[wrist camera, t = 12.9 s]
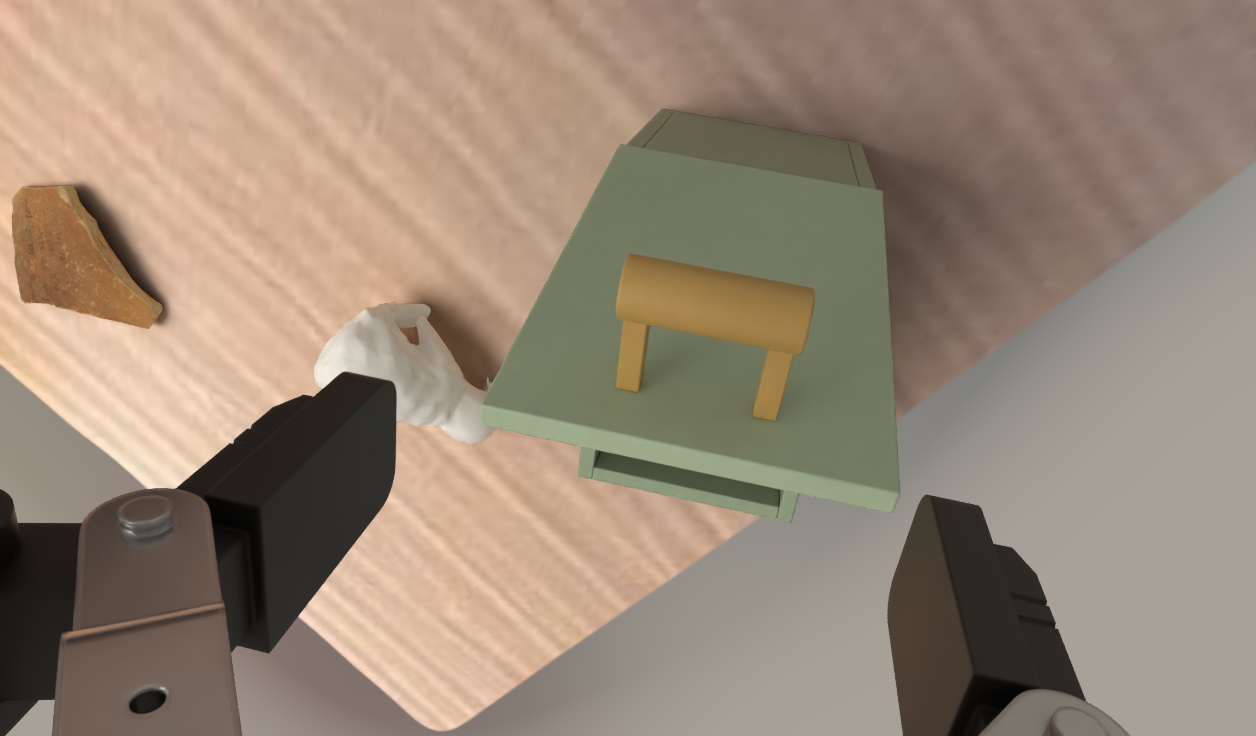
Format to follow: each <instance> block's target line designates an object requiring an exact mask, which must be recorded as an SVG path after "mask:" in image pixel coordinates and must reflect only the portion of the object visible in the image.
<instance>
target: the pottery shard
mask: <svg viewBox="0 0 1256 736" xmlns="http://www.w3.org/2000/svg"><path fill="white" fill-rule="evenodd" d="M12 205H13V214H12V237H13V243H14V247H15V268H16V273H17V280H18V284H19V291H20V295H21V300H22V302H24V303H42V304H44V303H45V304H50V305H55V306H56V307H59V308H62V309H68V310H73V311H76V312H78V313H82V314H88V315H92V316H95V317H98V318H103V319H108V320H113V321H117V322H122V323H125V324H130V325H134V326H138V327H142V328H147V329H149V328H150V327H151V325H152V324H153V323H154V322H155V320H156V319H157V318H158V316H159V315H160V313H161V312H162V310H163V307H162V304H161V303H159V302H157V301H156V300H154V299H153V298H151V297H150V296H149V295H147V294H146V293H145V292H144V291H143V290H141V289H140V288H139V286H137V284H136V283H135V282H134V281H133V280H132V279H131V277H130V276H129V274H128V273H127V271H126V270H125V268H124V266H123V265H122V264H121V262H120V260H119V259H118V258H117V257H116V255H115V254H114V252H113V251H112V250H111V248H110V247H109V245H108V244H107V242H106V240H105V239H104V237H103V235H102V233H101V231H100V230H99V228H98V224H97V221H96V220H95V219H94V218H93V217H92V216H91V215H90V214H89V213H88V212H87V211H86V210H85V208H84V207H83V205H82V204H81V203H80V201H79V198H78V194H77V191H76V190H75V188H74V187H73V186H72V185H64V186H63V185H61V186H56V187H46V188H43V187H41V188H33V187H22V188H21V189H20V190H19V191H18V192H17V193H16V194H15V195H14V197H13V200H12Z"/></svg>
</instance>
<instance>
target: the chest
mask: <svg viewBox="0 0 1256 736" xmlns="http://www.w3.org/2000/svg"><path fill="white" fill-rule="evenodd" d="M627 145H628V146H633V147H639V148H644V149H650V150H656V151H661V152H667V153H673V154H678V155H684V156H689V157H695V158H701V159H706V160H712V161H717V162H723V163H729V164H734V165H740V166H746V167H751V168H757V169H762V170H768V171H774V172H779V173H785V174H791V175H796V176H802V177H807V178H813V179H819V180H824V181H830V182H835V183H841V184H847V185H852V186H858V187H864V188H869V189H875V190H877V189H876V186H875V183H874V180H873V177H872V175H871V172H870V169H869V166H868V163H867V160H866V157H865V154H864V151H863V149H862V146H861V144H860V143H856V142H850V141H844V140H839V139H833V138H827V137H821V136H815V135H810V134H804V133H798V132H792V131H786V130H781V129H775V128H769V127H763V126H758V125H752V124H746V123H740V122H734V121H729V120H723V119H717V118H711V117H705V116H700V115H694V114H688V113H682V112H677V111H671V110H665V109H661V110H660V111H659V112H658V113H657V114H656V115H655V116H654V117H653V118H652V119H651V120H650V121H649V122H648V123H647V124H646V125H645V126H644V127H643V128H642V129H641V130H640V131H639V133H638V134H637V135H636V136H635V137H634V138H633V139H632V140H631V141H630V142H629V143H628V144H627ZM578 476H579V477H584V478H588V479H594V480H598V481H603V482H607V483H612V484H617V485H621V486H626V487H630V488H635V489H639V490H644V491H649V492H653V493H658V494H662V495H667V496H671V497H676V498H680V499H685V500H690V501H694V502H699V503H703V504H708V505H712V506H717V507H722V508H726V509H731V510H735V511H740V512H744V513H749V514H753V515H758V516H763V517H768V518H772V519H776V518H777V520H781V521H785V522H792V519H793V515H794V511H795V507H796V503H797V500H798V496H799V493H794V492H789V491H785V490H780V489H775V488H771V487H766V486H762V485H757V484H752V483H748V482H743V481H738V480H734V479H729V478H724V477H720V476H715V475H710V474H706V473H701V472H697V471H692V470H687V469H683V468H678V467H673V466H669V465H664V464H659V463H655V462H650V461H645V460H641V459H636V458H632V457H627V456H622V455H618V454H613V453H608V452H604V451H599V450H594V449H590V448H585V447H581V453H580V461H579V468H578Z"/></svg>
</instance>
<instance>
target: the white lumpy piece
mask: <svg viewBox="0 0 1256 736" xmlns="http://www.w3.org/2000/svg"><path fill="white" fill-rule="evenodd" d="M430 313H431V309H430V307H429V306H427V305H424V304H400V303H396V302H392V303H385V304H379V305H377V306H376V307H372V308H365V309H364V310H363V311H362V312H361V313H360V314H359V315H357V316H355V317H354V318H353V319H351V320H349V321H347V322H346V323H344V325H343V326H342V328H341V329H340V331H339V332H338V333H337V334H336V335H334V336H333V337H332V338H331V339H329V341H328V342H327V343H326V345H325V347H324V348H323V350H322V352H321V354H320V356H319V358H318V360H317V362H316V364H315V366H314V376H315V380H316V383H317V384H318V385H319V386H320V387H321V388H322V389H323V388H324V387H325V386H326V385H328V384H329V383H330V382H331V381H332V380H333V379H334V378H335V377H337V376H338V375H339V374H340V373H342V372H344V371H347V372H352V373H357V374H361V375H366V376H371V377H376V378H380V379H385V380H390V381H392V382H393V383H394V385H395V387H396V393H397V412H396V422H406V423H410V424H412V425H414V426H424V425H434V426H440V427H441V428H442V430H443V431H445V432H446V433H447V434H448V435H450V436H451V437H453V438H455V439H456V440H459V441H461V442H464V443H468V444H476V443H480V442H483V441H484V440H486V439H487V438H489V437H490V436H491V435H492V433H493V432H494V431H495V429H496V428H492V427H488V426H483V425H481V410H480V405H481V403H482V401H483V399H484V398H485V396H486V394H487V392H488V390H489V388H490V386H491V385H492V384H491V382H490V386H489V378H488V379H487V389H486V390H484V391H482V390H480V389H477V388H475V387H474V386H472V385H471V384H470V383H469V382H468V381H467V380H465V379H464V377H463V374H462V371H461V369H460V367H459V366H458V364H457V363H456V362H455V360H454V357H453V355H452V353H451V352H450V350H449V349H448V348H447V346H446V345H445V344H444V342H443V341H442V340H441V338H440V337H439V335H438V334H437V332H436V331H435V329H434V328H433V327H432V326H431V324H430V323H429V322H428V320H427V318H428V316H429V315H430ZM415 326H417V330H418V337H419V344H418V345H415V344H410V343H409V341H408V339H407V337H406V336H405V335H404V334H403V333H402V332H401V331H400V329H399V328H412V327H415ZM482 381H483V380H482ZM482 386H483V385H482ZM484 386H485V384H484ZM483 388H484V387H483ZM485 388H486V387H485Z"/></svg>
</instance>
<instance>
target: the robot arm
mask: <svg viewBox="0 0 1256 736" xmlns="http://www.w3.org/2000/svg"><path fill="white" fill-rule="evenodd" d="M396 412H397V393H396V387H395V385H394V383H393V382H392V381H390V380H385V379H380V378H376V377H371V376H366V375H361V374H357V373H352V372H347V371H344V372H342V373H340V374H339V375H338V376H337V377H335V378H334V379H333V380H332V381H331V382H330V383H329V384H328V385H326V386H325V387H324V388H323V389H322V390H321V391H320V392H319V393H317V394H316V395H315V396H314V397H312V396H308V395H302V396H300V397H297V398H295V399H292V400H290V401H287V402H285V403H282V404H280V405H277V406H275V407H273V408H271V409H270V410H269V411H268V412H267V413H265V414H264V415H263V416H262V417H261V418H260V419H258V420H257V421H256V422H255V423H254V424H252V427H251V429H246V430H245V431H244V432H243V433H242V434H240V435H239V436H238V437H237V438H236V439H234V443H233V444H231V443H230V444H228V445H227V446H226V447H225V448H224V449H222V450H221V451H220V452H219V453H218V454H216V455H215V456H214V457H213V458H212V459H210V460H209V461H208V462H207V463H206V464H204V465H203V466H202V467H201V468H200V469H199V470H197V471H196V472H195V473H194V474H193V475H191V476H190V477H189V478H188V479H187V480H185V481H184V482H183V483H182V484H181V485H179V486H178V487H177V488H176V489H169V488H155V489H145V490H140V491H135V492H131V493H127V494H123V495H121V496H118V497H116V498H113V499H111V500H109V501H107V502H105V503H103V504H101V505H100V506H98V507H97V508H95V509H94V510H93V511H92V512H90V513H89V514H88V516H87V517H86V518H85V519H84V521H83V522H82V523H18V522H17V518H16V513H15V508H14V504H13V500H12V498H11V497H10V496H9V494H7V493H6V492H5V491H3V490H1V489H0V736H5V735H6V734H7V733H8V732H9V731H10V730H11V729H12V728H13V727H14V726H15V725H16V724H17V723H18V722H19V721H20V720H21V718H22V717H23V716H24V715H25V714H26V713H27V712H28V711H29V710H30V709H31V708H32V707H33V706H34V705H35V704H36V703H37V701H38V700H55V704H54V716H53V728H52V729H53V730H52V736H242V731H241V723H240V716H239V709H238V702H237V694H236V687H235V679H234V672H233V665H232V658H231V652H232V651H233V650H234V649H235V648H236V646H241V647H245V648H250V649H253V650H257V651H261V652H266V653H270V652H271V651H272V649H273V648H274V647H275V646H276V644H277V643H278V642H279V640H280V639H281V638H282V636H283V635H284V634H285V633H286V631H287V630H288V629H289V627H290V626H291V625H292V623H293V622H294V621H295V619H296V618H297V617H298V616H299V614H300V613H301V612H302V611H303V609H304V608H305V607H306V605H307V604H308V603H309V601H310V600H311V599H312V598H313V596H314V595H315V594H316V592H317V591H318V590H319V589H320V587H321V586H322V585H323V583H324V582H325V581H326V579H327V578H328V577H329V576H330V574H331V573H332V572H333V570H334V569H335V568H336V566H337V565H338V564H339V563H340V561H341V560H342V559H343V557H344V556H345V555H346V554H347V552H348V551H349V550H350V548H351V547H352V546H353V544H354V543H355V542H356V541H357V539H358V538H359V537H360V535H361V534H362V533H363V532H364V530H365V529H366V528H367V526H368V525H369V524H370V522H371V521H372V520H373V519H374V517H375V516H376V515H377V513H378V512H379V511H380V509H381V508H382V507H383V505H384V504H385V502H386V500H387V498H388V496H389V493H390V490H391V487H392V484H393V480H394V474H395V461H396ZM1046 603H1047V600H1046V597H1045V595H1044V592H1043V590H1042V587H1041V585H1040V582H1039V580H1038V577H1037V574H1036V573H1035V572H1034V571H1033V570H1032V569H1031V568H1030V567H1029V566H1028V565H1027V564H1026V562H1025V561H1024V560H1023V559H1022V558H1021V557H1020V556H1019V555H1018V554H1017V552H1016V551H1015V550H1014V549H1013V548H1011V547H1006V546H1001V545H996V544H993V541H992V538H991V535H990V532H989V529H988V526H987V524H986V521H985V518H984V515H983V512H982V509H981V508H980V507H979V506H978V505H974V504H969V503H964V502H959V501H955V500H950V499H945V498H941V497H936V496H931V495H925V496H924V497H923V498H922V499H921V501H920V503H919V505H918V508H917V510H916V513H915V516H914V519H913V522H912V525H911V528H910V531H909V533H908V536H907V539H906V543H905V545H904V548H903V551H902V554H901V557H900V560H899V563H898V565H897V568H896V571H895V574H894V577H893V580H892V585H891V589H890V594H889V602H888V627H889V635H890V642H891V650H892V657H893V664H894V672H895V679H896V686H897V693H898V702H899V709H900V716H901V724H902V731H903V736H1130V735H1129V734H1128V733H1127V732H1126V731H1125V730H1124V729H1123V728H1122V727H1121V726H1120V725H1119V724H1118V723H1117V722H1116V721H1115V720H1113V719H1112V718H1111V717H1110V716H1108V715H1107V714H1106V713H1104V712H1103V711H1101V710H1100V709H1098V708H1097V707H1095V706H1093V705H1092V704H1090V703H1088V702H1086V700H1085V697H1084V694H1083V692H1082V689H1081V687H1080V684H1079V682H1078V679H1077V677H1076V674H1075V672H1074V669H1073V666H1072V664H1071V661H1070V659H1069V656H1068V654H1067V651H1066V649H1065V646H1064V643H1063V641H1062V638H1061V636H1060V633H1059V631H1058V629H1055V624H1056V623H1055V620H1054V618H1053V616H1052V613H1051V610H1050V608H1049V606H1046Z"/></svg>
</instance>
